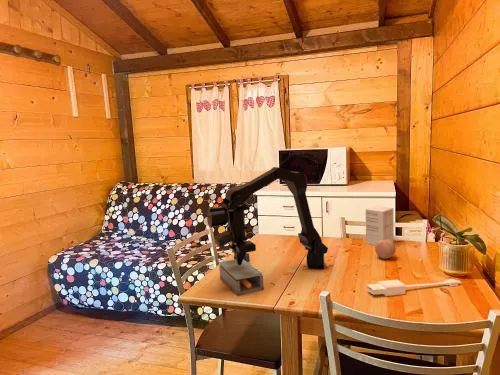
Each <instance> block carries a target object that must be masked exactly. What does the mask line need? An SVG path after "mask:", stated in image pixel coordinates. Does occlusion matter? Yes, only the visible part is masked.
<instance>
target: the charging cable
mask: <svg viewBox="0 0 500 375" xmlns="http://www.w3.org/2000/svg"><path fill="white" fill-rule="evenodd" d="M459 284H462V281H460V280H456V279H454V278H451V279H450V278H449V279H445V280H443V281H442V282H431V283H428V282H427V283H417V284H405V283H403V282H402V281H401V280H399V279H390V280H388V279H387V280H378V282H377V283H373V284H370V283H369V284H366V290H367V291H368V292H370V293H371V294H372V295H383V296H384V297H390V296H392V297H393V296H399V295H400V296H401V295H406V289H408V288H419V287H429V286H432V287H433V286H441V285H442V286H443V285H445V286H449V287H457V286H458V287H459Z"/></svg>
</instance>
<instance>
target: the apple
mask: <svg viewBox="0 0 500 375" xmlns="http://www.w3.org/2000/svg"><path fill="white" fill-rule="evenodd" d="M374 251H375V253H376V255H377V256H378V257H379V258H381V259H382V260H385V259H388V258H391V257H393V256H395V253H396V245H395V243H393V242H392V241H391V240H388V239H387V240H381V241H378V242H377V243H376V244H375V245H374Z"/></svg>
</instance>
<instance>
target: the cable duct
mask: <svg viewBox="0 0 500 375" xmlns="http://www.w3.org/2000/svg"><path fill="white" fill-rule="evenodd" d="M219 278H220V280H221V281H223V283H224V284H225V283H226V284H225V285H226V286H227V287H228V288H229V287H230V288H231V289H230V288H229V289H230V290H231V291H232V292H233V293H234V294H235V295H236V296H238V297H239V296H242V295H246V294H245V293H247V294H250V292H251V293H253V292H254V291H255V292H258V291H263V290H264V288H265V287H264V275H263V274H262V275H260V276H255V277H250V278H244V279H239V280H236V279H235V278H234V277H233V276H232V275H230V274H229V273H228V272H227V271H226V270H225V269H224V268H223V267H222V266H221V265H220V264H219ZM241 294H242V295H241Z"/></svg>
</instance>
